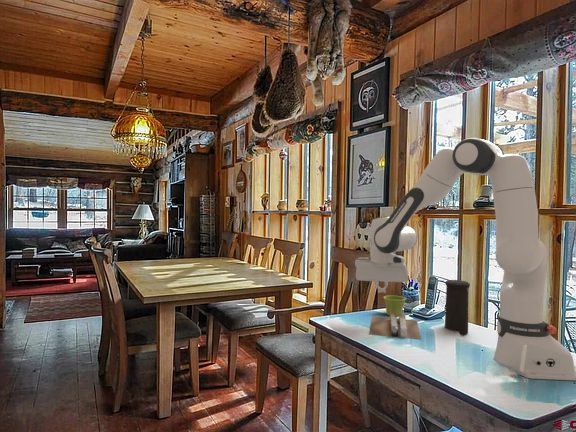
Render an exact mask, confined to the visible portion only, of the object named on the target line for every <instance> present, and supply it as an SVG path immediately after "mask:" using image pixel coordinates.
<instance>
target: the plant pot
mask: <svg viewBox="0 0 576 432" xmlns="http://www.w3.org/2000/svg"><path fill="white" fill-rule="evenodd" d="M383 299H384V303H385V310H386V314H387V316H390V313H396V317H399V314H403V310H404V304H405V301H406V300H407V298H406V297H404V296H402V295H401V296H399V295H385V296H383Z"/></svg>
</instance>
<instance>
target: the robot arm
mask: <svg viewBox="0 0 576 432" xmlns="http://www.w3.org/2000/svg"><path fill="white" fill-rule="evenodd" d="M465 173H469V174H473V175H477V176H487V177H488V178H489V180H490V183H491V191H492V197H493V205H494V207H493V208H494V212H495V261H496V263H497V264H498V266H499V268H501V269H502V270H503V277H502V283H501V287H500V290H499V291H500V292H499V315H498V316H497V322H496V323H497V326H496V328H497V329H496V331H497V344H496V348H495V351H494V355H493V358H492V360H493V361H495V362H497V363H498V364H501V366H505V367H506V368H508V369H510V370H512V371H514V372H515V373H517V374H519V375H520V376H523V377H525V378H527V379H534V380H535V379H536V380H537V379H539V380H555V381H559V380H560V381H576V366H575V362H574V358H573V355H572V354H571V352H570V350H569V349H568V348H566V347H565V346H564V345H563V344H562V343H561V342H560V341H558V340H557V339H556V338H554V337H553V336H552V335H553V334H556V333H557V331H558V330H557V327H555V326H554V325H552V324H549V323H547V322H546V321H544V292H545V283H546V277H547V275H546V274H547V263H548V250H547V247H546V245H545V244H544V243H543V241H541V240H540V237H539V235H540V234H539V212H538V211H539V209H538V202H537V197H536V196H537V195H536V190H535V189H536V188H535V185H534V184H535V183H534V178H533V175H532V172H531V168H530V165H529V163H528V160H527V159H526V158H525V157H524V156H522V155H520V154H517V153H516V154H515V153H514V154H509V153H508V154H505V151H504V150H503V149H502V147H501V146H499V145H498V144H495V143H492V142H491V141H489V140H485V139H481V138H479V137H469V138H466V139H463V140H461V141H460V142H458V143H457V144H456V145H455V146H454V148H453V147H443V148H441V149H440V150H438V152H437V153H436V154H435V155H434V156H433V157H432V159H431V160H430V162H428V164H427V166H426V167H425V168H424V170H423V172H422V173H421V175H420V177H418V180H417V181H416V182H415V184H414V185H413V186H412V187H411V189H410V190H409V191H407V193H406V194H405V196H404V197H403V198H401V201H399V203H398V204H397V206H396V207H395V208H394V210H393V211H392V213H391V214H390V216H389V215H388V216H385V215H383V216H379V217H375V218H374V219H372V221H371V223H370V232H369V236H370V238H369V239H370V243H371V244H370V251H369V252H370V253H369V255H370V256H369V257H368V256H367V257H362V256H360V257H358V258H356V259H355V261H354V266H355V268H356V271H355V279H356V280H357V281H360V282H361V281H364V282H374V284H375V286H376V288H377V294H378V293H379V294H386V290H387V288H388V286H389V282H390V283H408V282H409V272H408V267H407V265H406V263H405V262H406V259H405V257H404V256H402V255H399V254H397V252H403V251H404V252H405V251H408V250H409V251H410V250H412V249H413V248H414V247H415V246H416V244H417V241H418V240H417V239H418V237H417V236H418V235H417V233H416V230H415V229H414V228H413V227H411V226H409V225H408V223H409V222H410V221H411V219H412V218H413V216H414V215H415V214H416V213H417V212H419V211H420V210H421V209H424V208H426V207H428V206H432V205H434V204H437V203H440V202H441V201H442V200H444V198H445V197H446V196H448V194H449V193H450V191H451V190H452V189H453V187H454V186H455V184H456V182H457V180H458V179H459V178H460V176H462V175H463V174H465ZM394 252H396V253H394ZM380 282H384V286H383V287H380V286H379V283H380ZM550 334H552V335H550Z"/></svg>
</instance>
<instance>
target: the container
mask: <svg viewBox="0 0 576 432" xmlns="http://www.w3.org/2000/svg"><path fill="white" fill-rule="evenodd" d="M445 285H446V290H445V292H446V293H445V295H446V296H445V317H444V318H445V319H444V328H445V329H446V330H448V331H452V332H458V333H459V335H460V336H464V335H465V336H466V335H468V333H469V292H470V291H469V290H470V289H469V288H470V286H471V284H470V282H468V281H466V280H461V279H460V280H459V279H447V280H445Z"/></svg>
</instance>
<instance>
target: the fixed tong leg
mask: <svg viewBox="0 0 576 432" xmlns="http://www.w3.org/2000/svg"><path fill="white" fill-rule="evenodd" d="M398 319H399V323H400V335H401V337H402V338H401V339H408V338H407V327H406V321H405V319H406V314H403V313H402V314H399V316H398Z"/></svg>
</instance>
